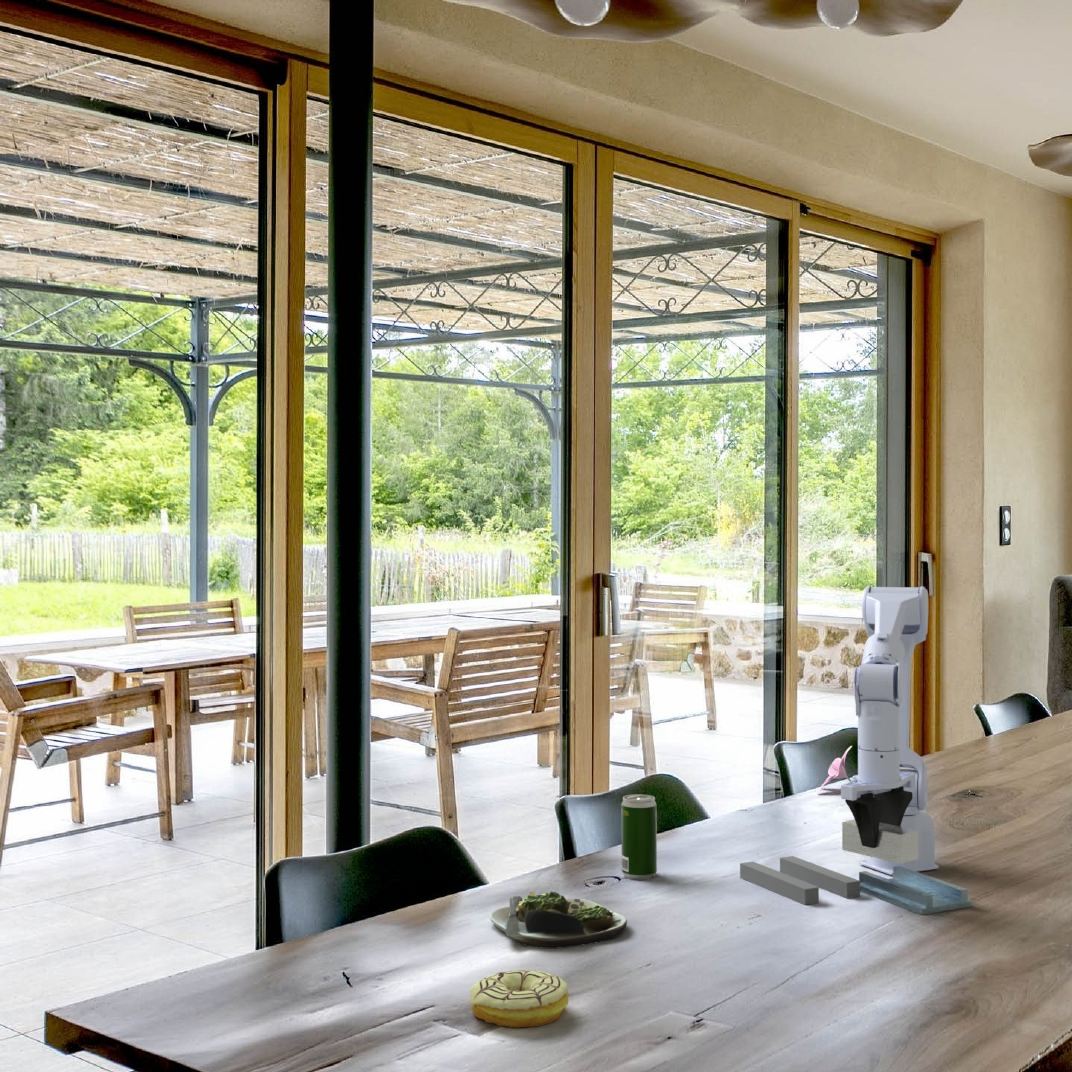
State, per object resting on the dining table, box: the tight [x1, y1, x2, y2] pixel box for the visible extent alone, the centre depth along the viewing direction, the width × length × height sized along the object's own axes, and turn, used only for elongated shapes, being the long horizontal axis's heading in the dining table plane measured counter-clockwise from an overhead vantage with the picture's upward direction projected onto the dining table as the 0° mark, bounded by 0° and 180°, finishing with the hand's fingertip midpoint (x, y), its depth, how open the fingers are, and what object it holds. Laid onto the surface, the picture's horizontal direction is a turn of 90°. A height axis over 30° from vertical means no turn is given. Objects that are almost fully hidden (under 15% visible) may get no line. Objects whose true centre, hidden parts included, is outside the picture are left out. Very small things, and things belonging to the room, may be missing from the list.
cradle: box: [858, 866, 973, 916], centre depth 184 cm, size 9×14×2 cm, turn 25°
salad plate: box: [489, 890, 628, 949], centre depth 172 cm, size 19×18×5 cm
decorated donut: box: [469, 969, 570, 1029], centre depth 141 cm, size 10×11×4 cm
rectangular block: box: [841, 818, 918, 864], centre depth 182 cm, size 4×10×4 cm, turn 38°
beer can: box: [620, 793, 658, 881], centre depth 197 cm, size 5×5×12 cm
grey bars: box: [739, 855, 861, 906], centre depth 190 cm, size 10×16×2 cm, turn 25°
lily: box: [817, 745, 853, 795], centre depth 259 cm, size 12×12×10 cm
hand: (879, 844), depth 182 cm, fingers closed on rectangular block, 4 cm apart
